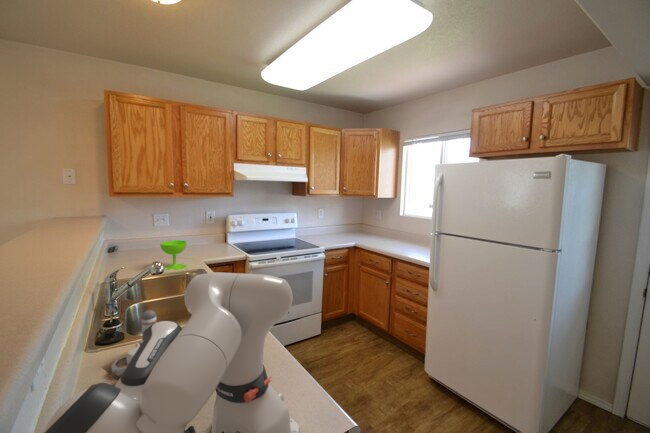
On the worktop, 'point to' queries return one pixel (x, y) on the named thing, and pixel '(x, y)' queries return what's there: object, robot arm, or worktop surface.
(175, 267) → the wineglass
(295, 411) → the worktop surface
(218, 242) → the worktop surface
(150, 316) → the cylinder
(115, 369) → the cradle
